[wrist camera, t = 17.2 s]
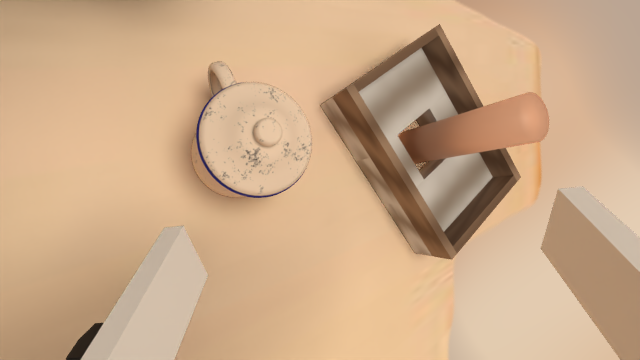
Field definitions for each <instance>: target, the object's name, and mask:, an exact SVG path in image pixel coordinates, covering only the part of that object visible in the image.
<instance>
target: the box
mask: <svg viewBox="0 0 640 360" xmlns="http://www.w3.org/2000/svg"><path fill="white" fill-rule="evenodd" d="M320 106H321V107H322V109H323V111H324V112H325V114H326V115H327V117H328V118H329V120H330V121H331V123H332V125H333V126H334V128H335V129H336V131H337V132H338V134H339V136H340V137H341V139H342V140H343V142H344V143H345V145H346V146H347V148H348V150H349V151H350V153H351V154H352V156H353V157H354V159H355V160H356V162H357V164H358V165H359V167H360V168H361V170H362V171H363V173H364V174H365V176H366V178H367V179H368V181H369V182H370V184H371V185H372V187H373V189H374V190H375V192H376V193H377V195H378V196H379V198H380V199H381V201H382V203H383V204H384V206H385V207H386V209H387V210H388V212H389V213H390V215H391V217H392V218H393V220H394V221H395V223H396V224H397V226H398V227H399V229H400V231H401V232H402V234H403V235H404V237H405V238H406V240H407V241H408V243H409V245H410V246H411V248H412V249H413V251H414V252H415V253H418V254H423V255H429V256H435V257H440V258H446V259H453V258H454V257H455V255H456V254H457V253H458V252H459V251H460V249H461V248H462V247H463V246H464V245H465V243H466V242H467V241H468V240H469V239H470V237H471V236H472V235H473V234H474V233H475V231H476V230H477V229H478V228H479V227H480V225H481V224H482V223H483V222H484V221H485V219H486V218H487V217H488V216H489V215H490V213H491V212H492V211H493V210H494V209H495V207H496V206H497V205H498V204H499V203H500V201H501V200H502V199H503V198H504V197H505V195H506V194H507V193H508V192H509V191H510V189H511V188H512V187H513V186H514V185H515V184H516V182H517V181H518V180H519V179H520V178H521V176H520V174H519V172H518V171H517V169H516V167H515V165H514V163H513V161H512V159H511V157H510V156H509V154H508V152H507V150H506V148H501V149H496V150H490V151H484V152H479V153H473V154H467V155H461V156H456V157H450V158H444V159H439V160H433V161H429V162H428V163H427V164H426V165H424V166H423V167H422V168H421V169H420V170H418V169H417V167H416V165H415V164H414V162H413V160H412V159H411V157H410V155H409V154H408V152H407V150H406V149H405V147H404V145H403V144H402V142H401V141H400V139H399V137H398V136H397V135H398V134H399V133H400V132H402V131H403V130H404V129H405V128H406V127H408V126H409V125H410V124H411V123H412V122H414V121H415V120H417V122H418V124H419V126H424V125H427V124H430V123H433V122H436V121H439V120H443V119H446V118H449V117H452V116H455V115H458V114H461V113H465V112H468V111H471V110H474V109H477V108H480V107H483V105H482V103H481V101H480V99H479V97H478V95H477V93H476V92H475V90H474V88H473V86H472V84H471V82H470V80H469V78H468V77H467V75H466V73H465V71H464V69H463V67H462V65H461V63H460V61H459V60H458V58H457V56H456V54H455V52H454V50H453V48H452V46H451V45H450V43H449V41H448V39H447V37H446V35H445V33H444V31H443V29H442V28H441V26H440V24H439V25H438V26H436V27H435V28H433V29H432V30H430V31H429V32H427V33H426V34H424V35H423V36H421V37H420V38H418V39H417V40H415V41H414V42H412V43H411V44H409V45H408V46H406V47H405V48H403V49H402V50H400V51H399V52H397V53H396V54H394V55H393V56H392V57H390V58H389V59H387V60H386V61H384V62H383V63H381V64H380V65H378V66H377V67H375V68H374V69H372V70H371V71H370V72H368V73H367V74H365V75H364V76H362V77H361V78H359V79H358V80H356V81H355V82H353V83H352V84H350V85H349V86H348V87H346V88H345V89H343V90H342V91H340V92H339V93H337V94H336V95H334V96H333V97H331V98H330V99H328V100H327V101H326V102H324V103H323V104H321V105H320Z"/></svg>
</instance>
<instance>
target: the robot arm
mask: <svg viewBox="0 0 640 360" xmlns="http://www.w3.org/2000/svg"><path fill="white" fill-rule="evenodd" d="M541 250H542V251H543V252H544V254H545V255H546V257H547V258H548V259H549V261H550V262H551V264H552V265H553V266H554V268H555V269H556V270H557V272H558V273H559V275H560V276H561V277H562V279H563V280H564V282H565V283H566V284H567V286H568V287H569V289H570V290H571V291H572V293H573V294H574V295H575V297H576V298H577V300H578V301H579V302H580V304H581V305H582V307H583V308H584V310H585V311H586V312H587V314H588V315H589V317H590V318H591V319H592V321H593V322H594V323H595V325H596V326H597V328H598V329H599V330H600V332H601V333H602V335H603V336H604V337H605V339H606V340H607V342H608V343H609V344H610V346H611V347H612V349H613V350H614V351H615V353H616V354H617V355H618V357H619V358H620V360H640V237H638V236H637V235H636V234H635V233H634V232H633V231H632V230H631V229H630V228H629V227H627V226H626V225H625V224H624V223H623V222H622V221H621V220H620V219H618V217H616V216H615V215H614V214H613V213H612V212H611V211H610V210H609V209H608V208H606V207H605V206H604V205H603V204H602V203H601V202H599V200H598V199H597V198H595V197H594V196H593V195H592V194H591V193H590V192H589V191H588V190H587V189H585V188H584V187H583V186H582V187H571V188H561V189H558V191H557V194H556V198H555V202H554V205H553V208H552V211H551V215H550V219H549V222H548V225H547V229H546V232H545V236H544V239H543V243H542V246H541ZM207 277H208V274H207V272H206V270H205V268H204V266H203V264H202V262H201V260H200V258H199V256H198V254H197V252H196V250H195V248H194V246H193V244H192V242H191V240H190V238H189V236H188V234H187V232H186V230H185V228H184V226H177V227H167V228H164V229H163V231H162V232H161V234H160V235H159V237H158V238H157V240H156V242H155V243H154V245H153V246H152V248H151V250H150V251H149V253H148V254H147V256H146V257H145V259H144V261H143V262H142V264H141V265H140V267H139V268H138V270H137V272H136V273H135V275H134V276H133V278H132V279H131V281H130V283H129V284H128V286H127V287H126V289H125V290H124V292H123V294H122V295H121V297H120V298H119V300H118V302H117V303H116V305H115V306H114V308H113V309H112V311H111V313H110V314H109V316H108V317H107V319H106V320H105V322H104V323H95V324H94V325H93V326H92V327H91V328H90V329H89V330H88V331H87V332H86V333H85V334H84V335H83V336H82V337H81V338H80V339H79V340H78V341H77V343H76V344H75V346H74V347H73V349H72V350H71V352H70V353H69V355H68V356H67V358H66V360H174V359H175V357H176V354H177V352H178V349H179V347H180V344H181V342H182V339H183V337H184V334H185V332H186V329H187V327H188V324H189V322H190V319H191V317H192V314H193V312H194V309H195V307H196V304H197V302H198V299H199V297H200V294H201V292H202V289H203V287H204V284H205V282H206V279H207Z"/></svg>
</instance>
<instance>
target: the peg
mask: <svg viewBox="0 0 640 360" xmlns="http://www.w3.org/2000/svg"><path fill="white" fill-rule="evenodd" d="M548 128H549V116H548V111H547V108H546V106H545V104H544V102H543V101H542V99H541V98H540V97H539V96H538V95H537V94H535V93H532V92H528V93H525V94H522V95H518V96H515V97H512V98H509V99H506V100H503V101H499V102H496V103H493V104H490V105H487V106H484V107H480V108H477V109H474V110H471V111H468V112H465V113H461V114H458V115H455V116H452V117H449V118H446V119H443V120H439V121H436V122H433V123H430V124H427V125H424V126H420V127H417V128H414V129H411V130H408V131H405V132H403V133H401V134H400V135H399V139H400V141H401V142H402V144H403V145H404V147H405V149H406V150H407V152H408V154H409V155H410V157H411V159H412V160H413V162H414V164H416V163H422V162H427V161H433V160H439V159H444V158H450V157H456V156H461V155H467V154H473V153H479V152H484V151H490V150H496V149H501V148H507V147H513V146H518V145H524V144H530V143H535V142H540V141H542V140H543V139H544V138H545V136H546V135H547V132H548Z"/></svg>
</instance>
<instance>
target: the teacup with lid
mask: <svg viewBox="0 0 640 360" xmlns="http://www.w3.org/2000/svg"><path fill="white" fill-rule="evenodd" d="M208 81H209V87H210V91H211V94H212V98H211V99H210V100H209V101H208V102H207V104H206V105H205V107H204V109H203V110H202V112H201V115H200V117H199V121H198V124H197V132H196V134H195V137H194V139H193V142H192V148H191V157H192V163H193V166H194V169H195V171H196V173H197V175H198V177H199V178H200V179H201V181H202V182H203V183H204V184H205V185H206V186H207V187H208V188H210V189H211V190H213V191H214V192H216V193H218V194H221V195H224V196H227V197H235V198H239V197H253V198H262V197H269V196H273V195H277V194H279V193H281V192H283V191H285V190H287V189H288V188H290V187H291V186H292V185H294V184H295V183H296V182H297V181H298V180H299V178H300V177H301V176H302V174H303V173H304V171H305V169H306V167H307V165H308V163H309V160H310V156H311V151H312V135H311V130H310V126H309V123H308V120H307V118H306V116H305V114H304V112H303V111H302V109H301V108H300V106H299V105H298V104H297V103H296V102H295V101H294V100H293V99H292V98H291V97H290V96H289V95H288V94H286V93H285V92H283V91H282V90H280V89H278V88H276V87H274V86H271V85H268V84H265V83H259V82H243V83H236V81H235V78H234V76H233V74H232V72H231V70H230V69H229V67H228V66H227V65H226V64H225V63H224V62H221V61H218V62H214V63H211V64H210V66H209V68H208Z"/></svg>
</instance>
